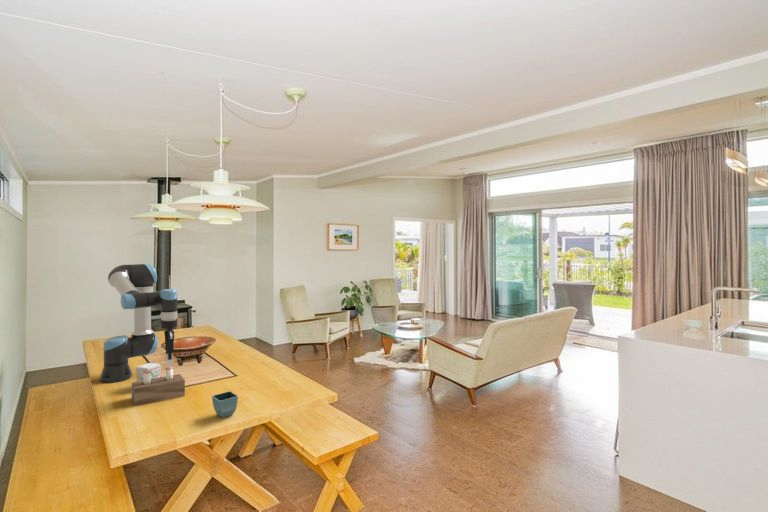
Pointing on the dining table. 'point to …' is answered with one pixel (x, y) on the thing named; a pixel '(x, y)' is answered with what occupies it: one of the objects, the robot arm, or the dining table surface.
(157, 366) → the ink box
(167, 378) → the peg
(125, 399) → the dining table surface
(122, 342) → the robot arm
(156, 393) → the walnut block
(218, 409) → the flower pot
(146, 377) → the peg
